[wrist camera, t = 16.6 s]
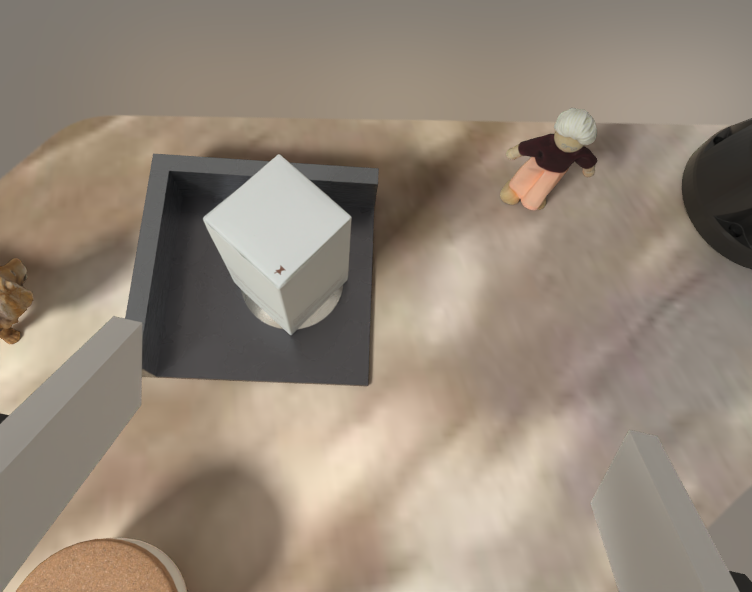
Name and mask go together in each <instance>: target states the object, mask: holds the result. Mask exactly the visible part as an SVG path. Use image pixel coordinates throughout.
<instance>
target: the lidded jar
mask: <svg viewBox="0 0 752 592" xmlns="http://www.w3.org/2000/svg"><path fill="white" fill-rule="evenodd" d="M16 592H187V589H186V585H185V582H184V579H183V577H182V575H181V573H180V571H179V569H178V568H177V566H176V565H175V563H174V562H173V561H172V560H171V559H170V558H169V557H168V556H167V555H166V554H165V553H164V552H162V551H161V550H160V549H158V548H157V547H155V546H153V545H151V544H149V543H147V542H143V541H140V540H137V539H129V538H106V539H94V540H89V541H84V542H80V543H77V544H74V545H72V546H69V547H66V548H64V549H62V550H60V551H58V552H57V553H55V554H53V555H51V556H50V557H49V558H47V559H46V560H45V561H43V562H42V563H41V564H39V565H38V566H37V567H36V568H35V569H34V570H33V571H32V572H31V573H30V574H29V575H28V576H27V577H26V579H25V580H24V581H23V582H22V584H21V585H20V586H19V587H18V589H17V591H16Z"/></svg>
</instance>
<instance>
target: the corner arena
mask: <svg viewBox="0 0 752 592" xmlns="http://www.w3.org/2000/svg"><path fill="white" fill-rule="evenodd" d="M269 162H270V161H256V160H241V159H226V158H211V157H196V156H181V155H165V154H153V158H152V164H151V170H150V176H149V182H148V188H147V194H146V200H145V205H144V211H143V217H142V223H141V229H140V235H139V241H138V247H137V252H136V258H135V264H134V270H133V276H132V282H131V288H130V294H129V300H128V305H127V311H126V317H125V319H129V320H133V321H138V322H142V377H158V378H182V379H206V380H230V381H254V382H278V383H302V384H326V385H350V386H368V371H369V342H370V313H371V284H372V255H373V225H374V206H375V200H376V193H377V187H378V169H377V168H362V167H347V166H332V165H317V164H302V163H290V164H292V165H293V166H294V167H295V168H296V169H297V170H299V171H300V172H301V173H302V174H303V175H304V176H306V177H307V178H308V179H309V180H310V181H311V182H313V183H314V184H315V185H316V186H317V187H318V188H319V189H321V190H322V191H323V192H324V193H325V194H326V195H327V196H329V197H330V198H331V199H332V200H333V201H334V202H336V203H337V204H338V205H339V206H340V207H341V208H342V209H343V210H345V211H346V212H347V213H348V214H349V215H350V216H351V217H352V218H351V233H350V251H349V268H348V279H347V281H346V282H345V283H344V284H343V285H342V286H341V287H340V288H339V289H338V290H337V291H336V292H335V293H334V294H333V295H332V296H331V297H330V298H329V299H328V300H327V301H326V302H325V303H324V304H323V305H322V306H321V307H319V308H318V309H317V310H316V311H315V313H314V314H313V315H311V316H310V317H309V318H308V319H307V320H306V321H305V322H304V323H303V324H302V325H301V326H300V327H299V328H298V329H297V330H296V331H295V332H294V333H293V334H292V335H290V334H288V333H287V332H286V331H285V330H284V329H283V328H282V327H281V326H280V325H279V324H278V323H277V322H276V321H274V320H273V319H272V318H271V317H270V316H269V315H268V314H267V313H266V312H265V311H264V310H263V309H261V308H260V307H259V306H258V305H257V304H256V303H255V302H254V301H253V300H252V299H251V298H250V297H249V296H248V295H247V294H245V293H244V292H243V291H242V290H241V289H240V288H239V287H238V286H237V285H236V284H235V283H234V281H233V279H232V277H231V275H230V273H229V270H228V269H227V267H226V265H225V263H224V261H223V259H222V257H221V255H220V253H219V251H218V249H217V247H216V245H215V243H214V241H213V240H212V238H211V236H210V234H209V232H208V230H207V227H206V225H205V223H204V221H203V217H204V216H205V215H207V214H208V213H209V212H210V211H212V210H213V209H214V208H215V207H216V206H218V205H219V204H220V203H221V202H223V201H224V200H225V199H226V198H227V197H229V196H230V195H231V194H232V193H234V192H235V191H236V190H237V189H238V188H240V187H241V186H242V185H243V184H244V183H246V182H247V181H248V180H249V179H250V178H251V177H253V176H254V175H255V174H256V173H257V172H258V171H260V170H261V169H262V168H263V167H264V166H265V165H266V164H268V163H269Z"/></svg>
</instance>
